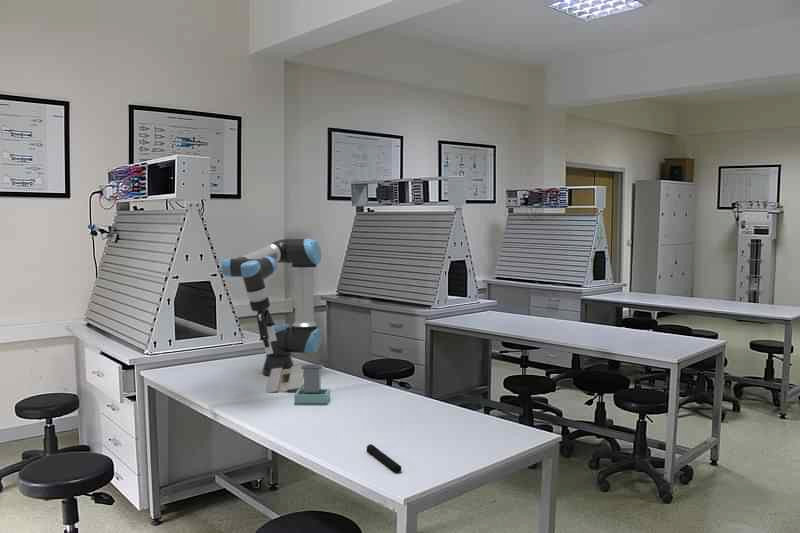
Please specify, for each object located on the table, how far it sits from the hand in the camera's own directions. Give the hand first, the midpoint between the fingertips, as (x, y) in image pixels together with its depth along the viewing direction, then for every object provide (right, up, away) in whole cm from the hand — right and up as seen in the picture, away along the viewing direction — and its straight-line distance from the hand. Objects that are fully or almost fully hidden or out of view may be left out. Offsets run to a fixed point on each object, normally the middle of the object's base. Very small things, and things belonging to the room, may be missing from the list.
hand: (271, 347), depth 250 cm
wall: (+3, -21, +17) cm, 27 cm away
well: (+17, -22, -3) cm, 28 cm away
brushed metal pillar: (+17, -21, -3) cm, 27 cm away
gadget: (+48, -26, -65) cm, 85 cm away
